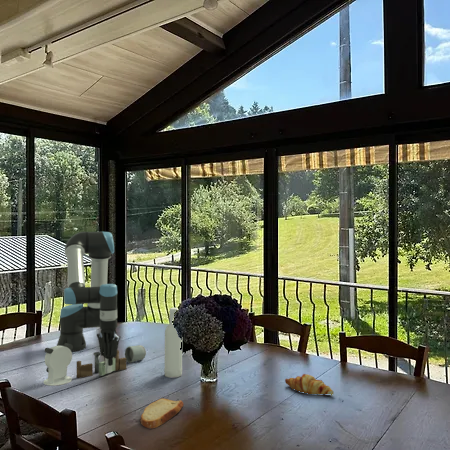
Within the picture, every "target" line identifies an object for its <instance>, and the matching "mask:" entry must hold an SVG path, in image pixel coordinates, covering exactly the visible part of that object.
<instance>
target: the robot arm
mask: <svg viewBox="0 0 450 450" xmlns="http://www.w3.org/2000/svg"><path fill="white" fill-rule="evenodd" d="M113 237H114V236H113V234H112V232H109V231H79V232H77V233H75V234H73V235H72V236H71V237H70V238H69V239H68V240H67V242H66V243H65V247H64V255H65V257H66V260H67V262H66V263H67V287H65V288H64V289H63V303H64V304H65V305H66V306H63V307H61V309H60V316H59V318H60V320H59V321H60V323H59V324H60V327H59V338H58V340H57V343H56V346H64V344H65V343H67V344H71V345H72V346H73V349H72V350H71V352H72V353H73V352H74V353H76V352H80V351H83V350H85V349H86V348H87V342H86V338H85V336H84V329H89V328H90V329H93V328H99V329H100V332H99V333H96V337H97V340H98V345H99V352H100V356H103V358H104V364H105V365H104V366H105V373H107V374H110V373H112V372H113V371H112V365H113V358H114V357H116V355H117V350H119V349H118V348H119V343H120V340H121V338H122V337H121V336H120V335H117V328H118V285H116V284H115V283H108V270H109V268H108V267H109V260H110V259H111V257H112V255H113V254H114V253H115V242H114V238H113ZM85 255H88V258H89V259H91V267H90V268H91V271H90V286H86V280H85V279H86V278H85V266H84V256H85ZM84 304H86V306H84ZM107 374H106V375H107Z"/></svg>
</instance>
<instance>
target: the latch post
mask: <svg viewBox="0 0 450 450" xmlns="http://www.w3.org/2000/svg"><path fill="white" fill-rule="evenodd" d="M93 356H94V374H99V363H100V356H101V352H100V351H96V352H93Z"/></svg>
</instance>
